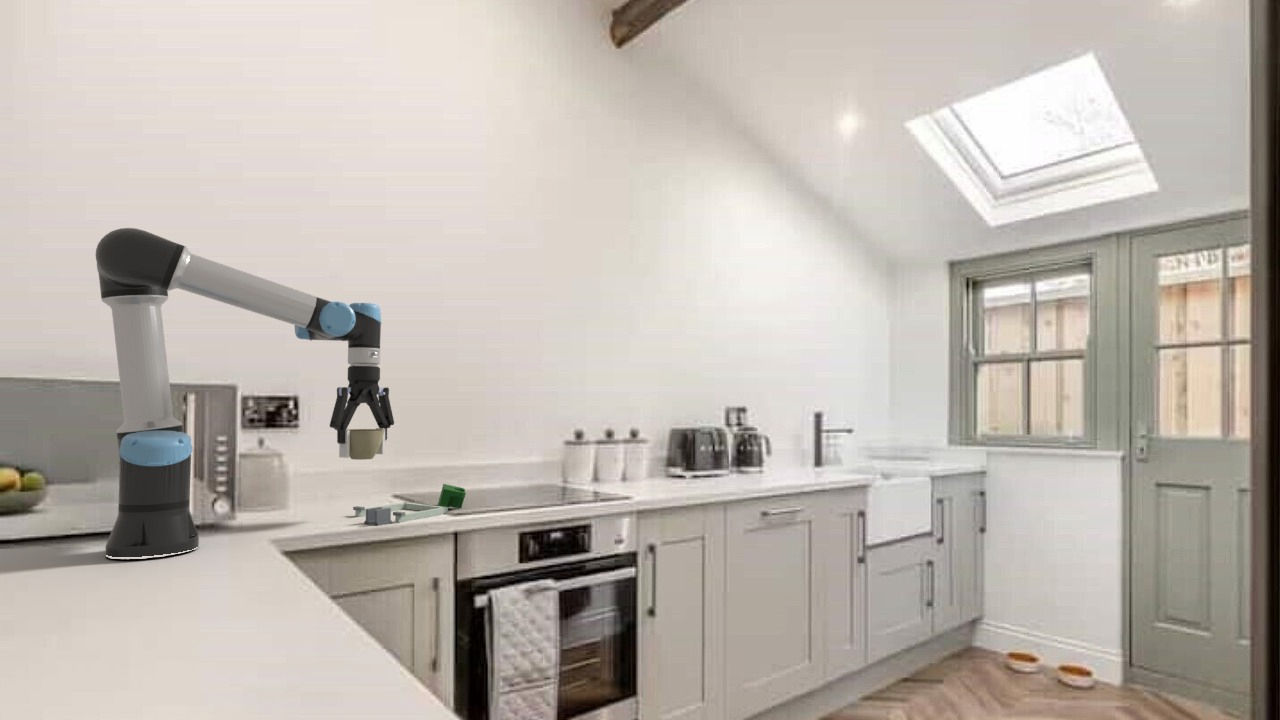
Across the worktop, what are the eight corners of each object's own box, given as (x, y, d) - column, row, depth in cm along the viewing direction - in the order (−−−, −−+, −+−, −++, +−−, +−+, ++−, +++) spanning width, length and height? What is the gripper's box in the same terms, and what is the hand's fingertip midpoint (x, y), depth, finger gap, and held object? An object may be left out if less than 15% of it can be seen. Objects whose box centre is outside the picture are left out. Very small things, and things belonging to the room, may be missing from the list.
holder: (401, 522, 172) (401, 513, 172) (353, 515, 182) (353, 506, 182) (450, 513, 186) (450, 504, 186) (403, 507, 195) (403, 499, 195)
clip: (378, 525, 168) (378, 510, 169) (364, 523, 171) (364, 508, 171) (391, 523, 172) (392, 508, 172) (378, 521, 175) (378, 506, 175)
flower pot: (356, 461, 169) (356, 431, 170) (332, 459, 175) (332, 430, 175) (392, 458, 178) (392, 429, 178) (368, 456, 183) (368, 428, 184)
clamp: (457, 525, 193) (465, 497, 190) (434, 521, 191) (443, 492, 189) (460, 502, 204) (468, 475, 201) (439, 497, 202) (447, 470, 200)
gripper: (334, 363, 166) (332, 460, 165) (409, 366, 185) (408, 452, 184) (314, 364, 169) (312, 458, 168) (389, 367, 189) (388, 451, 188)
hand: (362, 455), depth 176 cm, fingers closed on flower pot, 10 cm apart
